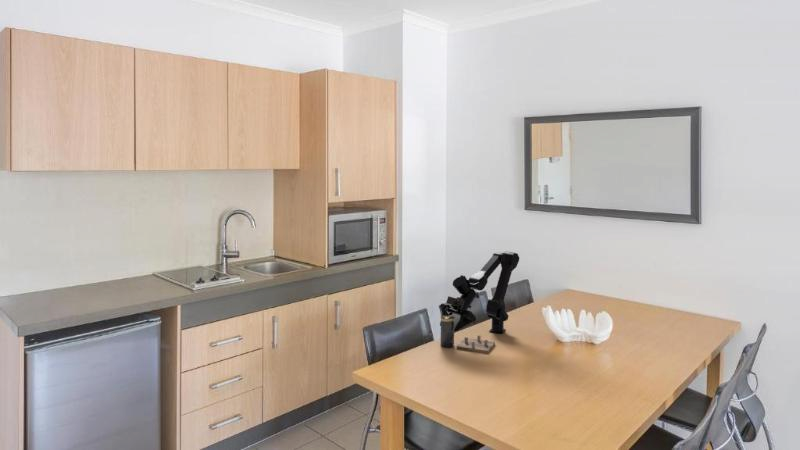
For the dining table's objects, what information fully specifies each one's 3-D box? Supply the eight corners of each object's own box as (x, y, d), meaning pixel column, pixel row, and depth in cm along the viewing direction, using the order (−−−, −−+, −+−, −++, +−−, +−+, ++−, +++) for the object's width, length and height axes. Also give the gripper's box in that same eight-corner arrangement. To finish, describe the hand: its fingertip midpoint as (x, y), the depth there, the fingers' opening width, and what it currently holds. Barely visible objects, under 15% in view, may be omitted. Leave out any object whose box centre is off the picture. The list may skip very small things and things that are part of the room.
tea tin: (443, 342, 246) (443, 314, 245) (455, 344, 244) (456, 316, 242) (438, 346, 241) (438, 318, 239) (451, 348, 238) (451, 320, 237)
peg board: (464, 340, 249) (465, 332, 249) (495, 344, 244) (495, 336, 243) (456, 348, 239) (456, 340, 238) (487, 353, 233) (487, 345, 232)
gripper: (442, 285, 250) (424, 313, 244) (472, 293, 235) (453, 323, 230) (454, 299, 256) (436, 327, 250) (484, 308, 241) (466, 337, 236)
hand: (447, 328), depth 241 cm, fingers open, 9 cm apart
